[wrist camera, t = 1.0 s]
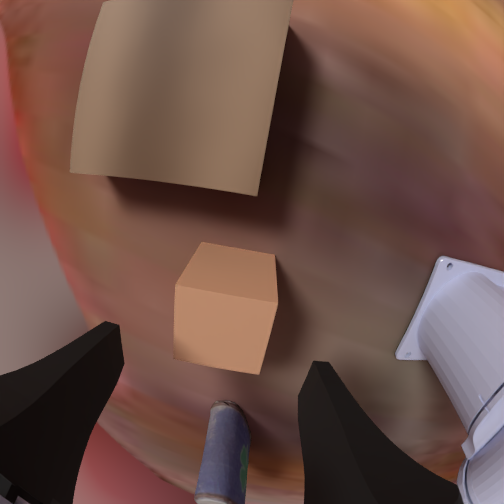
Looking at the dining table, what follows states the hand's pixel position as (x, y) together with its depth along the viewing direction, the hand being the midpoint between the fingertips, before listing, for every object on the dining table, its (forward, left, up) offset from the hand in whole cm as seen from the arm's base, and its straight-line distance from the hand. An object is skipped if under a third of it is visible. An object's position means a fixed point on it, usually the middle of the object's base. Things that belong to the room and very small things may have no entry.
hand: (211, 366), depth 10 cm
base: (+4, -10, -7) cm, 13 cm away
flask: (-2, +15, -7) cm, 17 cm away
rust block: (0, 0, -7) cm, 7 cm away
